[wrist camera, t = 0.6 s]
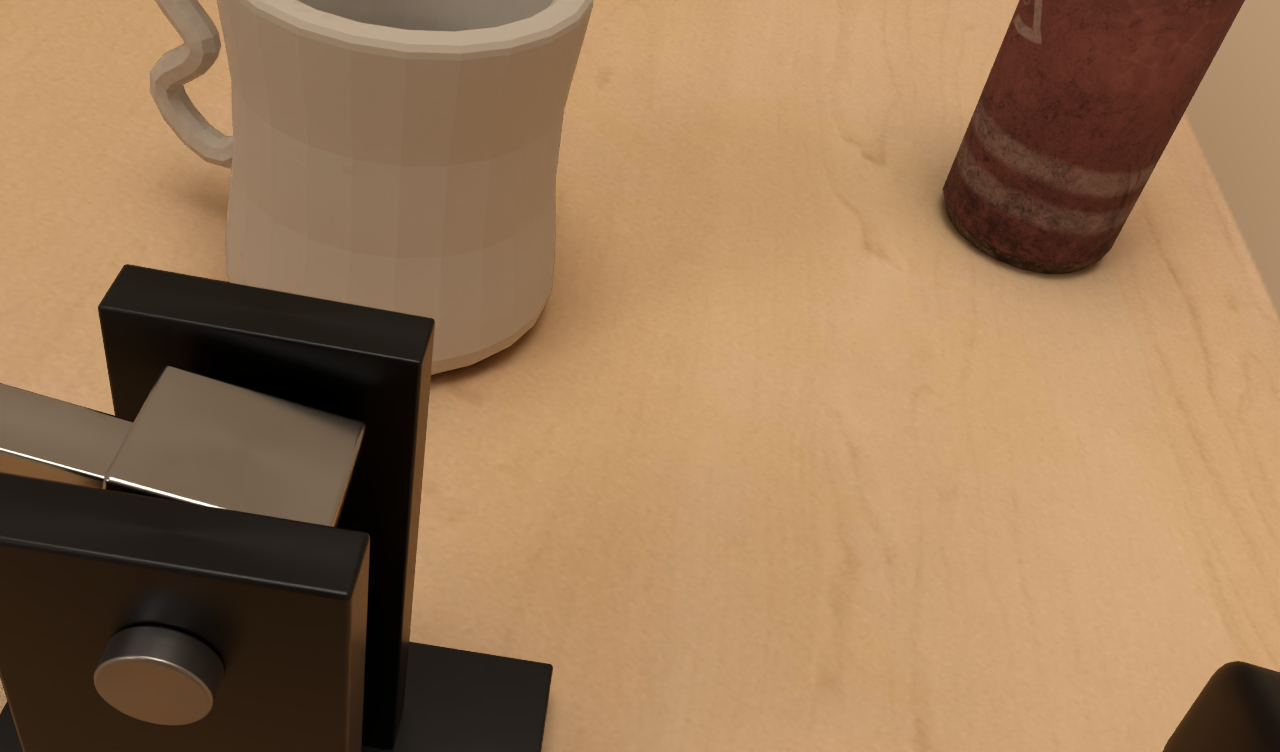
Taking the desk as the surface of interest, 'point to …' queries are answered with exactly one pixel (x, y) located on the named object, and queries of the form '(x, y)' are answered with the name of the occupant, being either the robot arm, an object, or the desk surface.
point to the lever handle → (191, 447)
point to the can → (1077, 123)
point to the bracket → (245, 562)
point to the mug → (389, 152)
